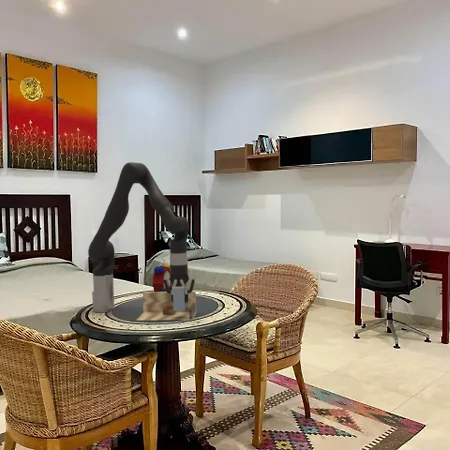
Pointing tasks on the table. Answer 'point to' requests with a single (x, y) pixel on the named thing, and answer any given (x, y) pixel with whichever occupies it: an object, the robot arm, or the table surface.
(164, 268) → the alarm clock
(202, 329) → the table surface
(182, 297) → the blue grey block
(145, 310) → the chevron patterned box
